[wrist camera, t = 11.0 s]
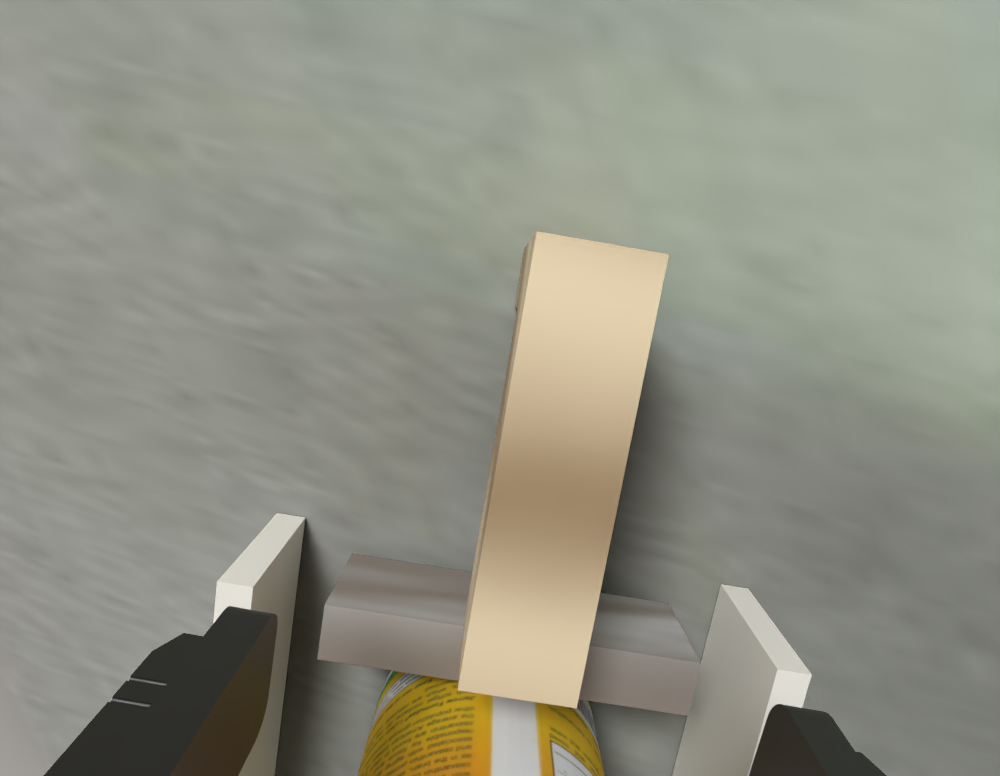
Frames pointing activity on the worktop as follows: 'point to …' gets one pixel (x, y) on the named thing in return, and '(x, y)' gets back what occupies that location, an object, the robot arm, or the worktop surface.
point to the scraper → (540, 515)
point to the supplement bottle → (475, 733)
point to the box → (717, 695)
